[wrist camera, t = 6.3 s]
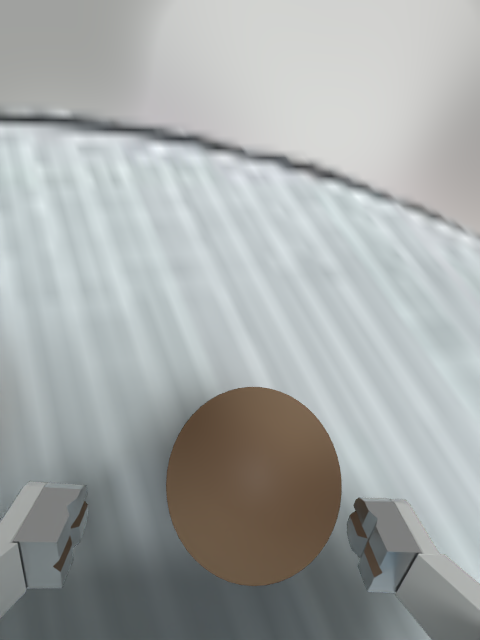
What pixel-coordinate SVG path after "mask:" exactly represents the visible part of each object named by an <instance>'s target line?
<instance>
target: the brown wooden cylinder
mask: <svg viewBox="0 0 480 640" xmlns="http://www.w3.org/2000/svg"><path fill="white" fill-rule="evenodd" d="M166 491H167V502H168V508H169V513H170V516H171V519H172V523H173V526H174V528H175V530H176V532H177V535H178V537H179V539H180V540H181V542H182V543H183V545H184V547H185V548H186V550H187V551H188V552H189V553H190V554H191V556H192V557H193V558H194V559H195V560H196V561H197V562H198V563H199V564H200V565H201V566H202V567H204V568H205V569H206V570H208V571H209V572H211V573H212V574H214V575H215V576H217V577H219V578H221V579H224V580H226V581H228V582H232V583H236V584H239V585H248V586H261V585H269V584H273V583H277V582H280V581H283V580H285V579H288V578H290V577H292V576H293V575H295V574H297V573H298V572H300V571H301V570H303V569H304V568H305V567H306V566H307V565H309V564H310V563H311V562H312V561H313V560H314V559H315V557H316V556H317V555H318V554H319V553H320V552H321V550H322V549H323V547H324V546H325V544H326V543H327V541H328V539H329V537H330V535H331V533H332V531H333V529H334V526H335V523H336V520H337V517H338V512H339V508H340V501H341V473H340V466H339V462H338V457H337V454H336V451H335V448H334V446H333V443H332V441H331V439H330V437H329V435H328V433H327V432H326V430H325V428H324V427H323V425H322V424H321V422H320V421H319V420H318V419H317V417H316V416H315V415H314V414H313V413H312V412H311V411H310V410H309V409H308V408H307V407H305V406H304V405H303V404H302V403H300V402H299V401H297V400H296V399H294V398H292V397H291V396H289V395H287V394H284V393H282V392H279V391H276V390H273V389H268V388H262V387H245V388H238V389H234V390H230V391H227V392H225V393H222V394H220V395H218V396H216V397H214V398H213V399H211V400H209V401H208V402H207V403H205V404H204V405H203V406H201V407H200V408H199V409H198V410H197V411H196V412H195V413H194V414H193V415H192V416H191V417H190V419H189V420H188V421H187V422H186V424H185V425H184V427H183V428H182V430H181V432H180V433H179V435H178V437H177V439H176V442H175V444H174V446H173V449H172V452H171V455H170V459H169V464H168V469H167V480H166Z"/></svg>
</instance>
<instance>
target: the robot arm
mask: <svg viewBox="0 0 480 640" xmlns="http://www.w3.org/2000/svg"><path fill="white" fill-rule="evenodd" d="M86 496H87V485H76V484H63V483H50V482H33V481H29V482H28V483H27V484H26V485H25V486H24V487H23V488H22V489H21V491H20V492H19V494H18V495H17V497H16V499H15V500H14V502H13V503H12V505H11V506H10V508H9V509H8V511H7V512H6V514H5V516H4V517H3V519H2V520H1V522H0V619H1V618H2V617H3V615H4V614H5V613H6V612H7V611H8V610H9V609H10V608H11V607H12V606H13V605H14V604H15V603H16V602H17V601H18V600H19V599H20V598H21V597H22V596H23V594H24V593H25V592H26V591H27V590H26V589H41V588H63V585H64V582H65V580H66V577H67V575H68V572H69V570H70V567H71V565H72V562H73V548H74V547H75V546H76V545H78V544H79V543H80V541H81V539H82V536H83V533H84V530H85V526H86V522H87V518H88V504H87V503H86V502H85V498H86ZM354 508H355V510H356V511H355V512H353V513H352V514H351V515H350V516H349V518H348V521H347V535H348V540H349V543H350V546H351V549H352V550H353V551H354V553H355V554H356V555H357V556H358V557H359V563H358V568H359V571H360V574H361V576H362V579H363V582H364V584H365V587H366V590H367V592H381V593H396V594H395V595H396V597H397V598H398V599H399V600H400V602H401V603H402V604H403V605H404V606H405V608H406V609H407V610H408V611H409V613H410V614H411V615H412V616H413V617H414V619H415V620H416V621H417V622H418V623H419V625H420V626H421V627H422V628H423V630H424V631H425V632H426V633H427V634H428V636H429V637H430V638H431V639H432V640H480V584H479V583H478V582H477V581H476V580H474V579H473V578H472V577H471V576H470V575H469V574H467V573H466V572H465V571H464V570H463V569H461V568H460V567H459V566H458V565H457V564H456V563H454V562H453V561H452V560H451V559H450V558H448V557H447V556H446V555H445V554H440V553H439V551H438V550H437V548H436V546H435V545H434V543H433V541H432V540H431V538H430V537H429V535H428V533H427V532H426V530H425V528H424V527H423V525H422V523H421V522H420V520H419V518H418V517H417V515H416V513H415V512H414V510H413V508H412V507H411V505H410V504H409V502H407V501H406V500H403V499H388V498H360V497H359V498H358V499H356V501H355V503H354Z"/></svg>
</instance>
